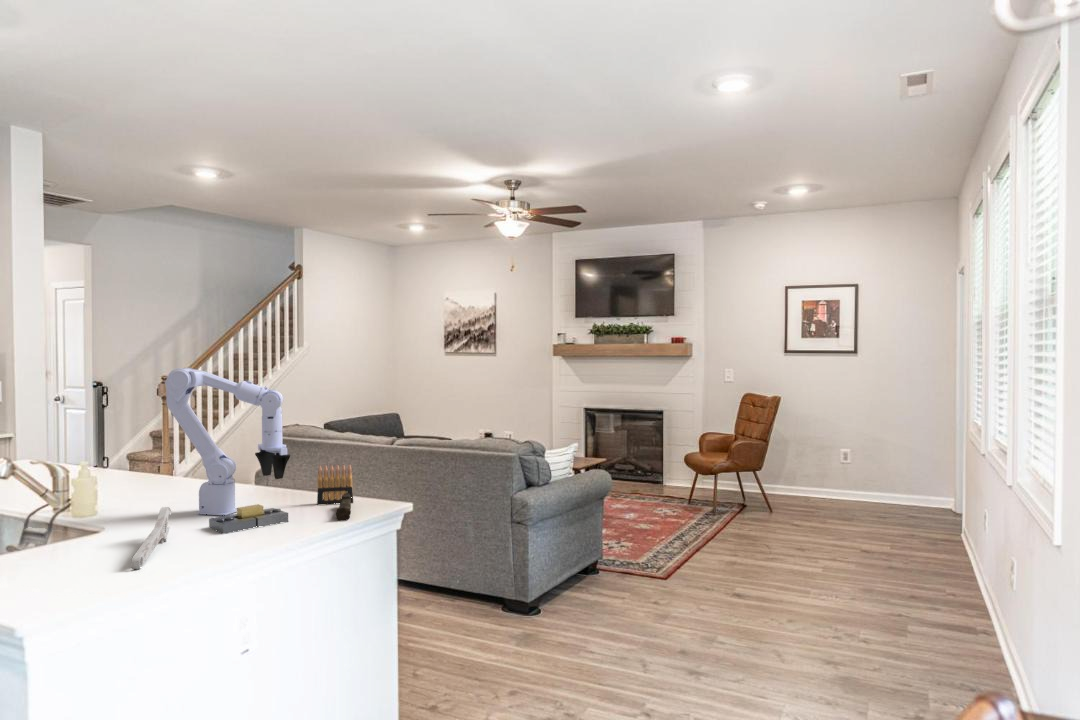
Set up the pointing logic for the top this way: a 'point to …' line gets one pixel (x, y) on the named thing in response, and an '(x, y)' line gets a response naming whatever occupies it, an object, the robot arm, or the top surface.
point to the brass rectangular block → (249, 511)
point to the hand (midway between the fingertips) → (272, 477)
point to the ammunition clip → (334, 485)
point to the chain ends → (247, 521)
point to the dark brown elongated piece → (344, 508)
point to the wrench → (153, 539)
